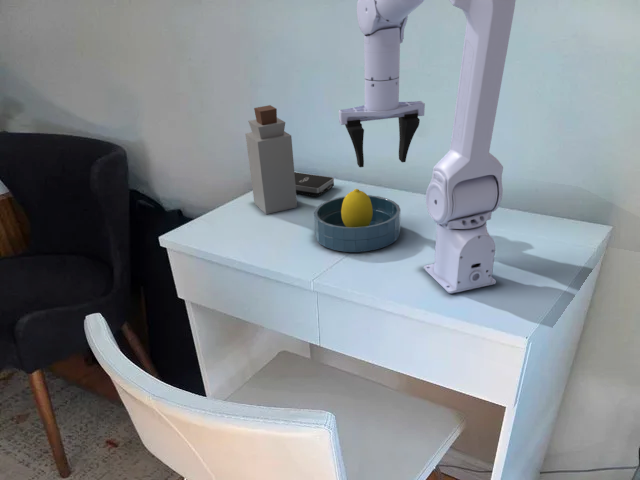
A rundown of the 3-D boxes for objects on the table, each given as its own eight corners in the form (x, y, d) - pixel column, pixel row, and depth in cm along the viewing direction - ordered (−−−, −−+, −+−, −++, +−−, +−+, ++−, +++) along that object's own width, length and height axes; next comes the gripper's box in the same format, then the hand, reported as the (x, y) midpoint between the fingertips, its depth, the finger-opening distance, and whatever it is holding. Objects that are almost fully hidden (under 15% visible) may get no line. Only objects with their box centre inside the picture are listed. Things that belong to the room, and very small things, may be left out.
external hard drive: (318, 198, 125) (317, 188, 124) (274, 191, 130) (273, 181, 128) (335, 187, 129) (334, 177, 128) (291, 180, 134) (291, 171, 133)
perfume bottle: (254, 203, 125) (242, 107, 113) (284, 196, 127) (275, 101, 115) (266, 214, 120) (254, 115, 109) (297, 207, 122) (289, 109, 111)
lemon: (361, 242, 107) (360, 197, 102) (336, 236, 110) (334, 191, 105) (378, 231, 110) (378, 186, 105) (353, 225, 113) (352, 181, 108)
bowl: (413, 243, 106) (414, 218, 103) (330, 260, 103) (329, 234, 100) (380, 213, 117) (380, 189, 114) (305, 227, 114) (303, 203, 111)
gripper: (417, 68, 103) (414, 151, 112) (334, 76, 102) (337, 160, 111) (430, 76, 98) (425, 163, 107) (342, 85, 97) (345, 173, 106)
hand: (381, 163), depth 109 cm, fingers open, 7 cm apart
